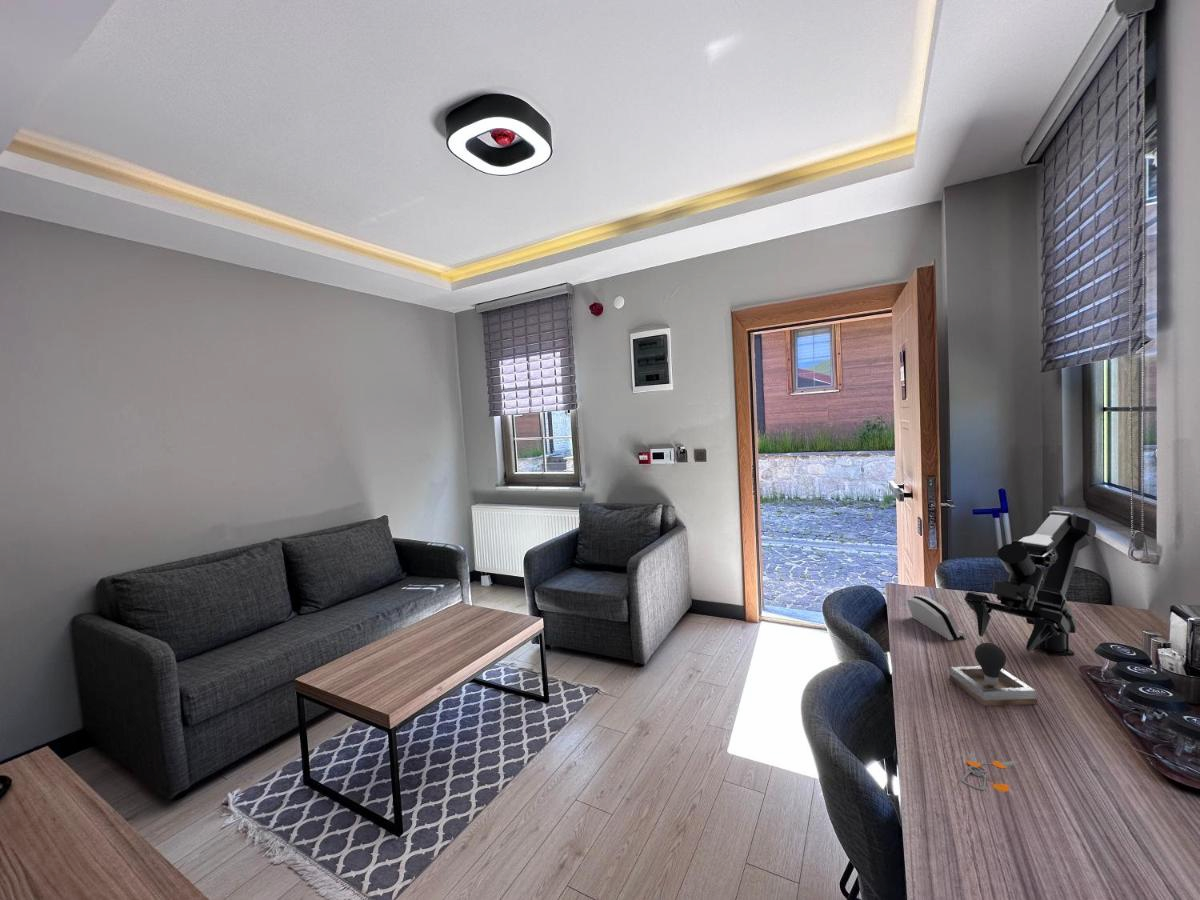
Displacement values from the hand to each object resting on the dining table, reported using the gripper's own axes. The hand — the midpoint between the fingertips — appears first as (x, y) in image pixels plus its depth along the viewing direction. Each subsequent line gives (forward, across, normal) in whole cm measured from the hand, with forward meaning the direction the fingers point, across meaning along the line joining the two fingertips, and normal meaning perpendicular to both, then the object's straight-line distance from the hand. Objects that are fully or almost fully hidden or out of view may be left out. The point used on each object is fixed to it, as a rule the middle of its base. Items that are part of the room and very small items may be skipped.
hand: (1003, 642), depth 114 cm
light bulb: (+10, 0, +2) cm, 11 cm away
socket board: (+11, 0, +2) cm, 11 cm away
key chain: (+32, +11, -18) cm, 39 cm away
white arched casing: (-6, -24, +20) cm, 32 cm away
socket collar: (+11, 0, +2) cm, 11 cm away
